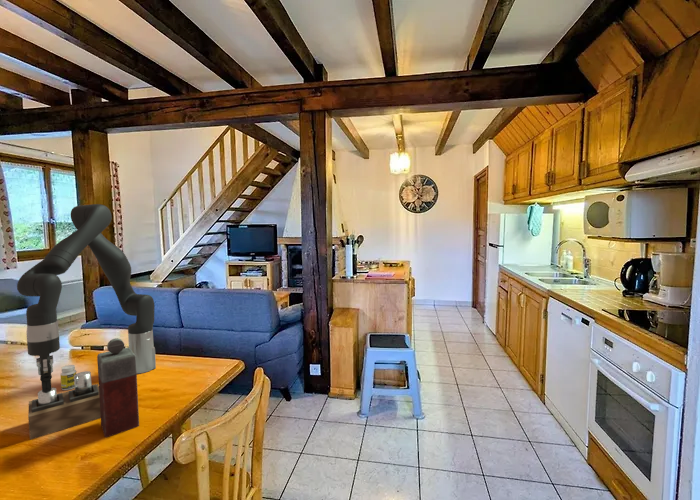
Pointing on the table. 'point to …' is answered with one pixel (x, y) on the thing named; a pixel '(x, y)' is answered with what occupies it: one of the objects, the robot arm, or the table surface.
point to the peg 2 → (82, 383)
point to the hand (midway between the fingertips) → (46, 390)
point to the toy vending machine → (117, 388)
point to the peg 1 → (47, 397)
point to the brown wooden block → (63, 412)
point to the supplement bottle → (68, 377)
